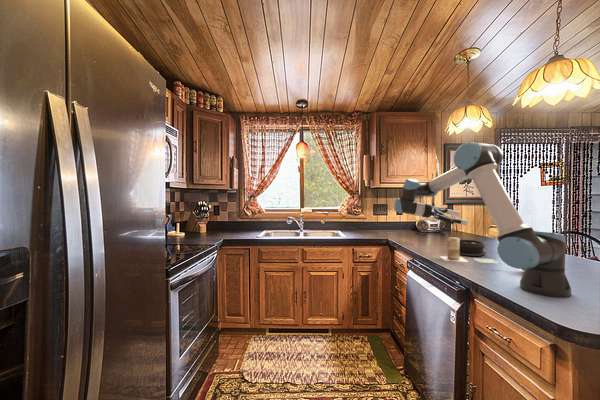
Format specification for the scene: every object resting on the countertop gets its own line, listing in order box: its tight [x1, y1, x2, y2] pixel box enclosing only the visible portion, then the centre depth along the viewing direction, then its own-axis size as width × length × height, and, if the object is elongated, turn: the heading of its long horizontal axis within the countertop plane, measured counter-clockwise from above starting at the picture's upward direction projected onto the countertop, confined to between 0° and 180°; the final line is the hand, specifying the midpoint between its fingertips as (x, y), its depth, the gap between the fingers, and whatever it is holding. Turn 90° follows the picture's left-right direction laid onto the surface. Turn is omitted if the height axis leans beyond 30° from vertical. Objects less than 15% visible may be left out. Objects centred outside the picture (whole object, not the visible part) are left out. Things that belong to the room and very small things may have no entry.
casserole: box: [460, 239, 487, 257], centre depth 176 cm, size 25×19×8 cm
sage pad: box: [472, 257, 501, 265], centre depth 155 cm, size 10×10×1 cm
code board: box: [439, 255, 469, 263], centre depth 160 cm, size 12×12×1 cm
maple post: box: [447, 236, 461, 260], centre depth 160 cm, size 6×6×12 cm
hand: (463, 218), depth 153 cm, fingers open, 13 cm apart
